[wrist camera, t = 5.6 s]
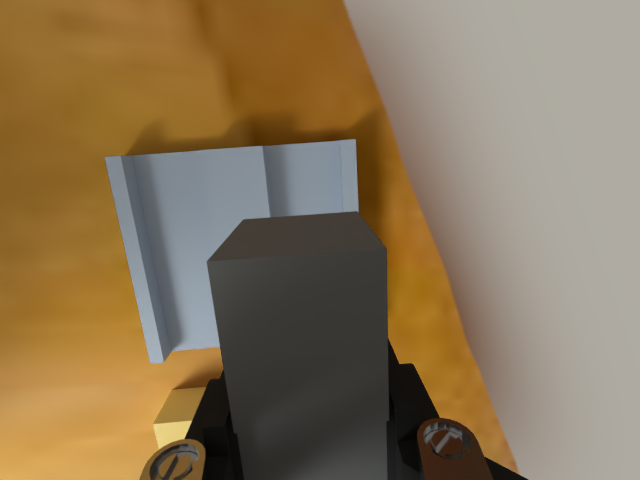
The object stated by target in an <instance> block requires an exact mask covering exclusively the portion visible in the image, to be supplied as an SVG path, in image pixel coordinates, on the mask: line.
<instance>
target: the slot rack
mask: <svg viewBox="0 0 640 480" xmlns="http://www.w3.org/2000/svg"><path fill="white" fill-rule="evenodd" d="M105 162H106V166H107V171H108V175H109V180H110V184H111V189H112V193H113V198H114V202H115V207H116V211H117V216H118V220H119V225H120V229H121V234H122V238H123V243H124V247H125V252H126V256H127V261H128V265H129V270H130V274H131V279H132V283H133V288H134V292H135V297H136V301H137V306H138V310H139V315H140V319H141V324H142V328H143V333H144V337H145V342H146V346H147V350H148V355H149V359H150V364H152V363H164V362H165V360H166V359H167V357H168V356H169V354H170V353H171V351H179V350H191V349H204V348H216V347H220V343H219V337H218V331H217V324H216V318H215V312H214V306H213V299H212V293H211V287H210V281H209V274H208V268H207V260H208V259H209V258H210V257H211V256H212V255H213V253H214V252H215V251H216V250H217V249H218V248H219V247H220V245H221V244H222V243H223V242H224V241H225V240H226V239H227V237H228V236H229V235H230V234H231V233H232V232H233V230H234V229H235V228H236V227H237V226H238V225H239V224H240V222H241V221H242V220H243V219H255V218H269V217H283V216H297V215H311V214H325V213H339V212H353V211H358V213H359V208H358V183H357V159H356V139H350V140H339V141H328V142H314V143H300V144H286V145H271V146H251V147H237V148H223V149H209V150H200V151H187V152H173V153H159V154H145V155H129V156H110V157H105Z"/></svg>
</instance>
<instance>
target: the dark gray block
mask: <svg viewBox="0 0 640 480" xmlns="http://www.w3.org/2000/svg"><path fill="white" fill-rule="evenodd" d="M207 268H208V274H209V281H210V287H211V293H212V299H213V306H214V312H215V318H216V324H217V331H218V337H219V343H220V349H221V355H222V362H223V368H224V374H225V380H226V387H227V393H228V399H229V405H230V411H231V418H232V424H233V430H234V433H237V437H238V443H239V449H240V456H241V462H242V468H243V475H244V480H387V432H386V421H389V382H388V314H387V248H386V247H385V246H384V244H383V243H382V242H381V241H380V239H379V238H378V237H377V236H376V234H375V233H374V232H373V230H372V229H371V228H370V227H369V225H368V224H367V223H366V222H365V220H364V219H363V218H362V216H361V215H360V214H359V213H358V211H353V212H339V213H325V214H311V215H297V216H283V217H269V218H255V219H243V220H242V221H241V222H240V224H239V225H238V226H237V227H236V228H235V229H234V230H233V232H232V233H231V234H230V235H229V236H228V237H227V239H226V240H225V241H224V242H223V243H222V244H221V245H220V247H219V248H218V249H217V250H216V251H215V252H214V253H213V255H212V256H211V257H210V258H209V259H208V260H207Z"/></svg>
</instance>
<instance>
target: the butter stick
mask: <svg viewBox="0 0 640 480" xmlns="http://www.w3.org/2000/svg"><path fill="white" fill-rule="evenodd" d="M205 389H206V387H198V388H186V389H175V390H172V391H171V393H170V395H169V396H168V398H167V400H166V402H165V404H164V405H163V407H162V409H161V411H160V412H159V414H158V416H157V418H156V420H155V421H154V423H153V426H154V431H155V435H156V439H157V443H158V447H159V449H161V448H162V447H163V446H165V445H167V444H169V443H171V442H174V441H177V440H181V439H185V436H186V434H187V432H188V429H189V427H190V425H191V422H192V420H193V417H194V415H195V413H196V410H197V408H198V406H199V403H200V401H201V398H202V396H203V394H204V391H205Z"/></svg>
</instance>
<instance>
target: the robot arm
mask: <svg viewBox="0 0 640 480" xmlns="http://www.w3.org/2000/svg"><path fill="white" fill-rule="evenodd" d="M388 382H389V421H386V432H387V480H528V479H526V478H524V477H522V476H520V475H518V474H517V473H515V472H513V471H511V470H509V469H507V468H505V467H503V466H501V465H499V464H497V463H496V462H494V461H492V460H490V459H488V458H486V457H484V455H483V452H482V450H481V447H480V445H479V443H478V440H477V439H476V437H475V435H474V434H473V433H472V432H471V431H470V430H469V429H468V428H467V427H466V426H464V425H462V424H461V423H459V422H457V421H454V420H451V419H446V418H440V417H439V415H438V413H437V411H436V409H435V407H434V405H433V403H432V401H431V399H430V397H429V395H428V393H427V391H426V389H425V387H424V385H423V383H422V381H421V379H420V377H419V375H418V373H417V371H416V369H415V367H414V365H413V364H412V363H408V364H399V362H398V360H397V358H396V355H395V353H394V351H393V348H392V346H391V344H390V341H389V339H388ZM140 480H244V475H243V468H242V462H241V456H240V449H239V443H238V437H237V433H234V430H233V424H232V418H231V411H230V405H229V399H228V393H227V387H226V380H225V374H224V370H223V372H222V375H221V378H220V379H211V380H210V381H209V382H208V384H207V387H206V389H205V391H204V394H203V396H202V398H201V401H200V403H199V406H198V408H197V410H196V413H195V415H194V417H193V420H192V422H191V425H190V427H189V429H188V432H187V434H186V436H185V439H181V440H177V441H174V442H171V443H169V444H167V445H165V446H163V447H162V448H161V449H159V450H158V451H157V452H155V453H154V454H153V455H152V457H151V458H150V459H149V460H148V461H147V463H146V465H145V467H144V469H143V471H142V474H141V477H140Z"/></svg>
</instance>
